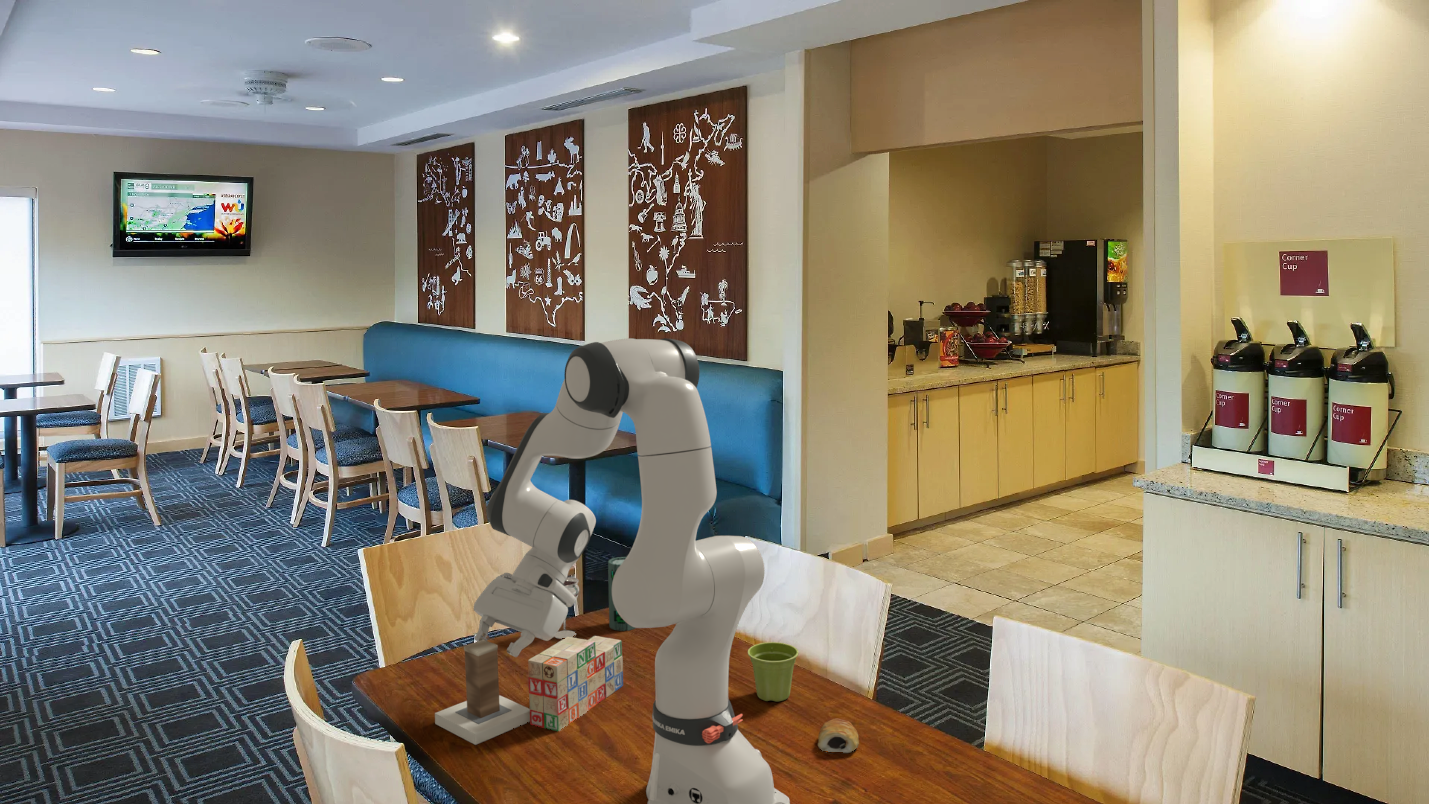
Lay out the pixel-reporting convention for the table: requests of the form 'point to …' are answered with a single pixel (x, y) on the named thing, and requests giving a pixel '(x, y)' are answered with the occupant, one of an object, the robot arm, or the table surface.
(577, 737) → the table surface
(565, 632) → the wineglass
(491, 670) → the brown tall block
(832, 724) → the pastry
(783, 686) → the plant pot
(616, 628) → the can
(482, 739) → the plate
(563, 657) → the stack of blocks
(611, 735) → the table surface
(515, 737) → the table surface
